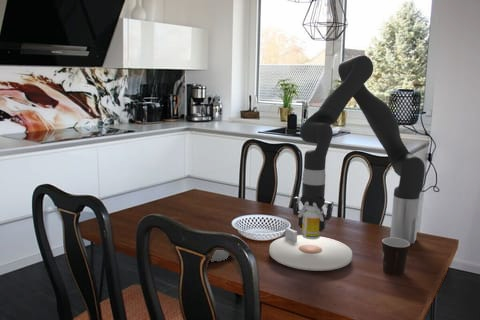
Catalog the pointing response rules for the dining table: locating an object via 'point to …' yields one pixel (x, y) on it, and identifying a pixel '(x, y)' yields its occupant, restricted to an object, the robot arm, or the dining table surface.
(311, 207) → the supplement bottle
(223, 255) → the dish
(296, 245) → the disc
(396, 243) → the coffee mug
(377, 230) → the dining table surface
